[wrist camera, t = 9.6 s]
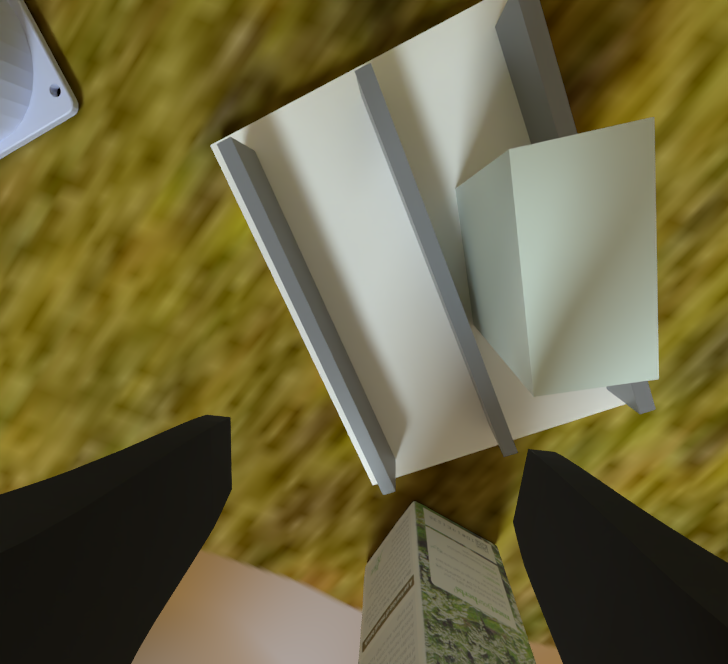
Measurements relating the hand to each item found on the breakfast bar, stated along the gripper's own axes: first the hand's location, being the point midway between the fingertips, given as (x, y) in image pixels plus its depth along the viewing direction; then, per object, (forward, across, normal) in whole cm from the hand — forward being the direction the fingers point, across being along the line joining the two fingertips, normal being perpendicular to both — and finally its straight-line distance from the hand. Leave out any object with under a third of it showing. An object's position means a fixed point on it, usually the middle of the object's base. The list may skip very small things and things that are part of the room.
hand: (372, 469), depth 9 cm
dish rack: (+10, -2, -4) cm, 11 cm away
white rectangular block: (+9, -5, -5) cm, 12 cm away
